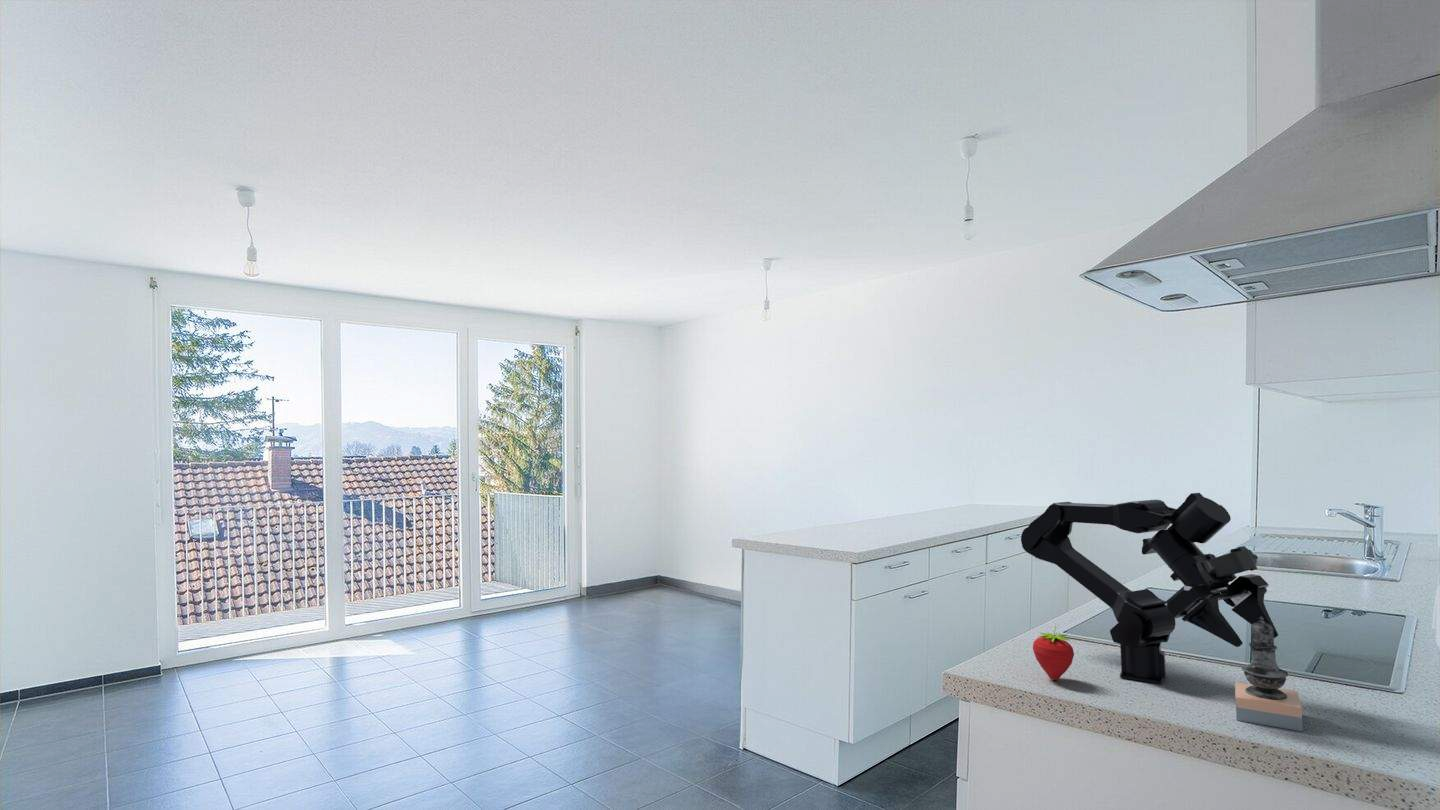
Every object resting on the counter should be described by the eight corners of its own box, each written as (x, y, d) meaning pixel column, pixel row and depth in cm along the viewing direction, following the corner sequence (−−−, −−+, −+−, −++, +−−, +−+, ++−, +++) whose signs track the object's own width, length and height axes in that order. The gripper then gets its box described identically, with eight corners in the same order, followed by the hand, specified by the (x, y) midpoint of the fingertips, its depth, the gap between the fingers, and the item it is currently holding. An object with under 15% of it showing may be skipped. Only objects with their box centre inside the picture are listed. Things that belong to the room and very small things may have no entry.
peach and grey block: (1236, 720, 112) (1235, 697, 112) (1236, 703, 118) (1235, 682, 118) (1302, 731, 107) (1301, 707, 107) (1298, 713, 113) (1297, 691, 114)
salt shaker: (1282, 689, 114) (1277, 612, 115) (1295, 702, 109) (1290, 622, 109) (1238, 685, 117) (1233, 610, 117) (1248, 698, 111) (1244, 619, 112)
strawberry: (1048, 671, 136) (1046, 618, 136) (1083, 683, 129) (1081, 627, 129) (1025, 676, 133) (1023, 622, 134) (1060, 689, 127) (1057, 632, 127)
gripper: (1181, 535, 115) (1259, 621, 105) (1253, 526, 123) (1332, 605, 112) (1137, 576, 122) (1206, 660, 112) (1208, 565, 130) (1279, 643, 119)
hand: (1258, 641), depth 114 cm, fingers open, 9 cm apart
